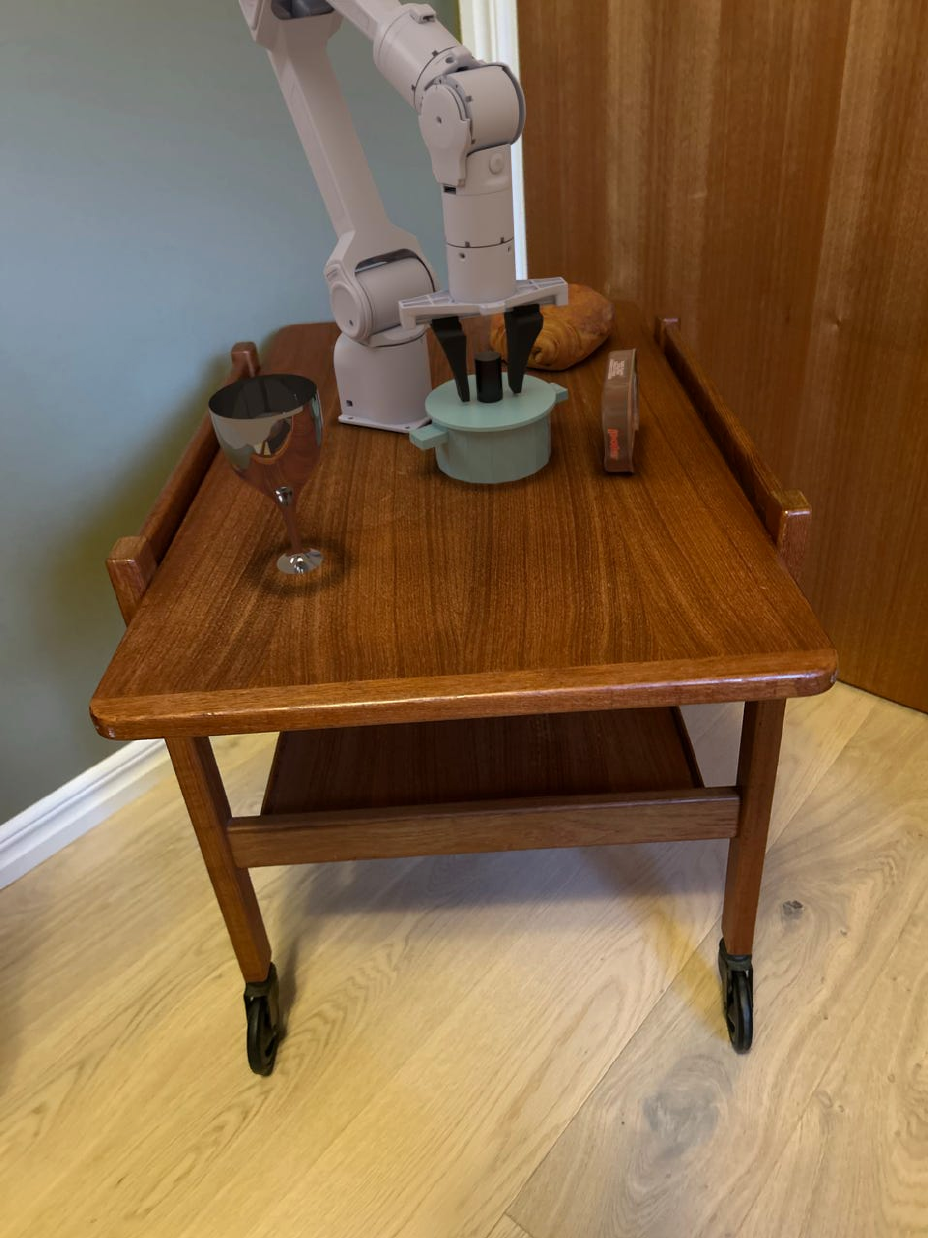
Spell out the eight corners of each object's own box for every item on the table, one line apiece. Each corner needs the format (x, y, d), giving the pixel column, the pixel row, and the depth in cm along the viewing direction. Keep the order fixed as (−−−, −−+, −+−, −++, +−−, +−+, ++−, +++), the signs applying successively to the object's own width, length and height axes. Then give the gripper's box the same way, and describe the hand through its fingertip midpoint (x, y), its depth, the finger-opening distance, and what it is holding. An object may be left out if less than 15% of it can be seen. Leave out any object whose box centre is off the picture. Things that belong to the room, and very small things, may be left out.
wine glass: (307, 604, 71) (268, 427, 62) (232, 579, 74) (184, 408, 65) (367, 553, 76) (339, 382, 67) (295, 532, 80) (258, 367, 70)
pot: (393, 466, 88) (385, 409, 84) (529, 417, 94) (527, 362, 91) (452, 510, 80) (446, 450, 77) (595, 454, 87) (596, 396, 83)
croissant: (630, 351, 112) (638, 283, 107) (574, 381, 100) (580, 307, 96) (527, 333, 118) (530, 268, 114) (463, 360, 107) (464, 289, 103)
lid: (402, 406, 86) (396, 354, 83) (507, 372, 91) (504, 321, 88) (471, 451, 78) (467, 395, 75) (582, 411, 82) (582, 356, 79)
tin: (633, 489, 81) (636, 400, 76) (597, 488, 82) (598, 400, 76) (640, 416, 93) (643, 334, 87) (608, 415, 93) (610, 334, 88)
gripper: (401, 263, 71) (419, 424, 79) (579, 238, 73) (579, 397, 81) (387, 240, 76) (406, 393, 85) (553, 217, 78) (555, 368, 87)
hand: (489, 393), depth 83 cm, fingers open, 4 cm apart
